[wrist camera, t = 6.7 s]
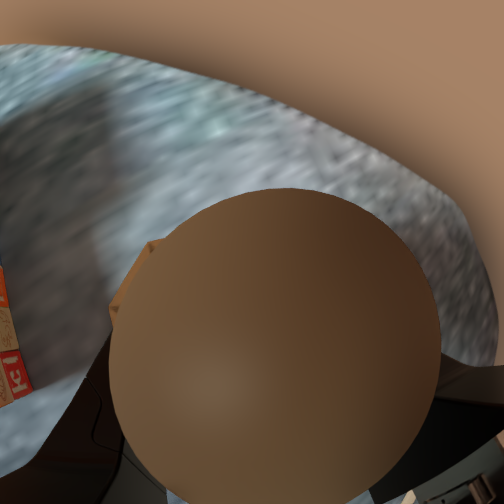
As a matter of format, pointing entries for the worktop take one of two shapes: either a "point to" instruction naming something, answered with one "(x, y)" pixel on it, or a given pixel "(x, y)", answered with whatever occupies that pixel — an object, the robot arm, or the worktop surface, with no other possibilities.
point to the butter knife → (409, 498)
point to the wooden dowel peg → (275, 352)
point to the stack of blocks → (10, 355)
